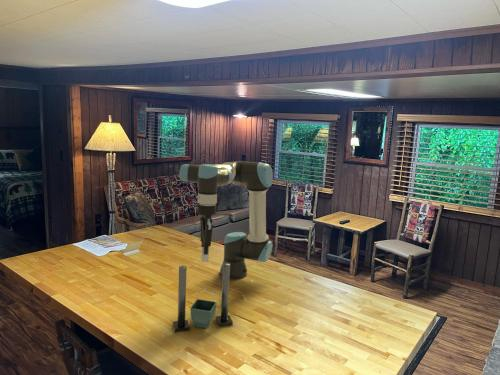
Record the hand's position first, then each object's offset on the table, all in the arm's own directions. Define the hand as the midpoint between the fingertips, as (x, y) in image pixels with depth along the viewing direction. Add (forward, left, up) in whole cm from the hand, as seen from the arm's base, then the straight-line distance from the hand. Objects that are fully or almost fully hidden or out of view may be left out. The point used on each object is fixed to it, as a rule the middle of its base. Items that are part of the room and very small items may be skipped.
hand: (204, 261), depth 156 cm
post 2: (-9, 0, -28) cm, 30 cm away
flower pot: (0, 0, -28) cm, 28 cm away
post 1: (+9, 0, -28) cm, 29 cm away
